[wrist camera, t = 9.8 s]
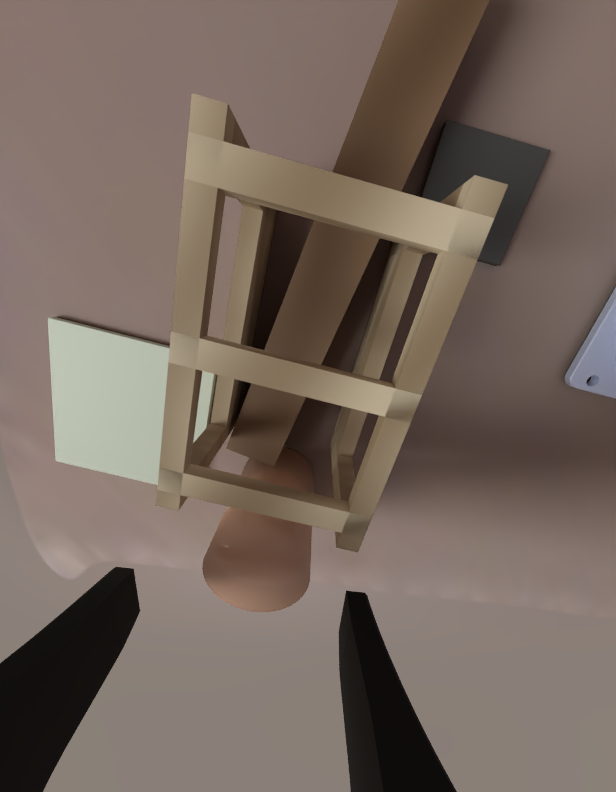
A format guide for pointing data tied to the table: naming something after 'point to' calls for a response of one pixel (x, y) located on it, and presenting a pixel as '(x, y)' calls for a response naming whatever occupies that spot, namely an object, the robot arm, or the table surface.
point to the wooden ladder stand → (239, 362)
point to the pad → (112, 399)
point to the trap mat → (486, 176)
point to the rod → (371, 162)
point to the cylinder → (262, 545)
